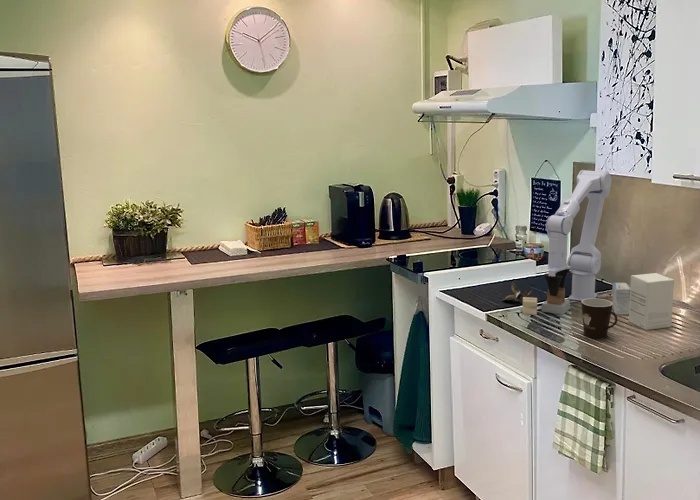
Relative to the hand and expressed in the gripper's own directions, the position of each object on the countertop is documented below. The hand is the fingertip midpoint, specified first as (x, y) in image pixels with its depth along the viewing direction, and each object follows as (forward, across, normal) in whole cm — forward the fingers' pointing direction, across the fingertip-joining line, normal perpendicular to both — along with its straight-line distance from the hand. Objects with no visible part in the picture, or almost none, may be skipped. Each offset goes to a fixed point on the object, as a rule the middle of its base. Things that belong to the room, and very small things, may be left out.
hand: (556, 292), depth 230 cm
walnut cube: (+3, 0, 0) cm, 3 cm away
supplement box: (+6, -3, -29) cm, 30 cm away
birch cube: (+6, -6, +7) cm, 11 cm away
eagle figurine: (+6, +3, +15) cm, 16 cm away
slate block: (+6, 0, 0) cm, 6 cm away
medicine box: (+6, +7, -19) cm, 21 cm away
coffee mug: (+6, -21, -17) cm, 28 cm away
